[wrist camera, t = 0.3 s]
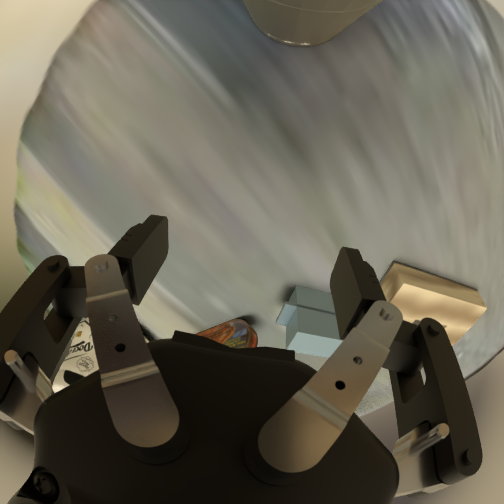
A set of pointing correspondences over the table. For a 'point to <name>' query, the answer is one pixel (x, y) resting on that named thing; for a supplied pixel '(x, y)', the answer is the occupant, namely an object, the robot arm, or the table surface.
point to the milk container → (78, 358)
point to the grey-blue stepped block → (310, 322)
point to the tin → (233, 334)
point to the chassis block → (432, 299)
